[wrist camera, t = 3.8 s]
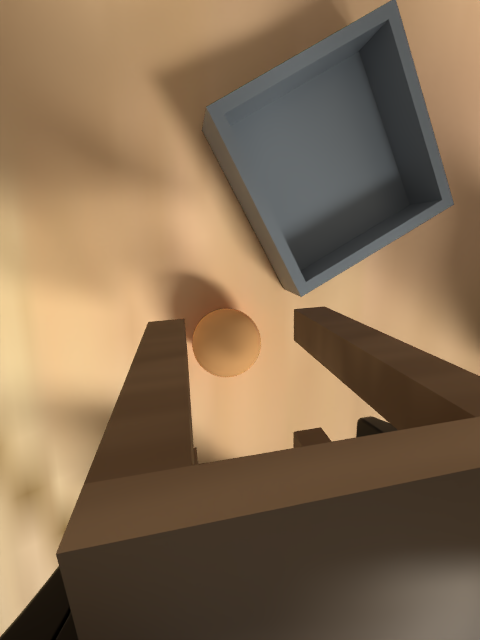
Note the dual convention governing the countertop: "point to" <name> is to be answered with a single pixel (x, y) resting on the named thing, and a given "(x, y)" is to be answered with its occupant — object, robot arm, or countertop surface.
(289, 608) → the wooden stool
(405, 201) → the tray
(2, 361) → the countertop surface
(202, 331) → the ball
